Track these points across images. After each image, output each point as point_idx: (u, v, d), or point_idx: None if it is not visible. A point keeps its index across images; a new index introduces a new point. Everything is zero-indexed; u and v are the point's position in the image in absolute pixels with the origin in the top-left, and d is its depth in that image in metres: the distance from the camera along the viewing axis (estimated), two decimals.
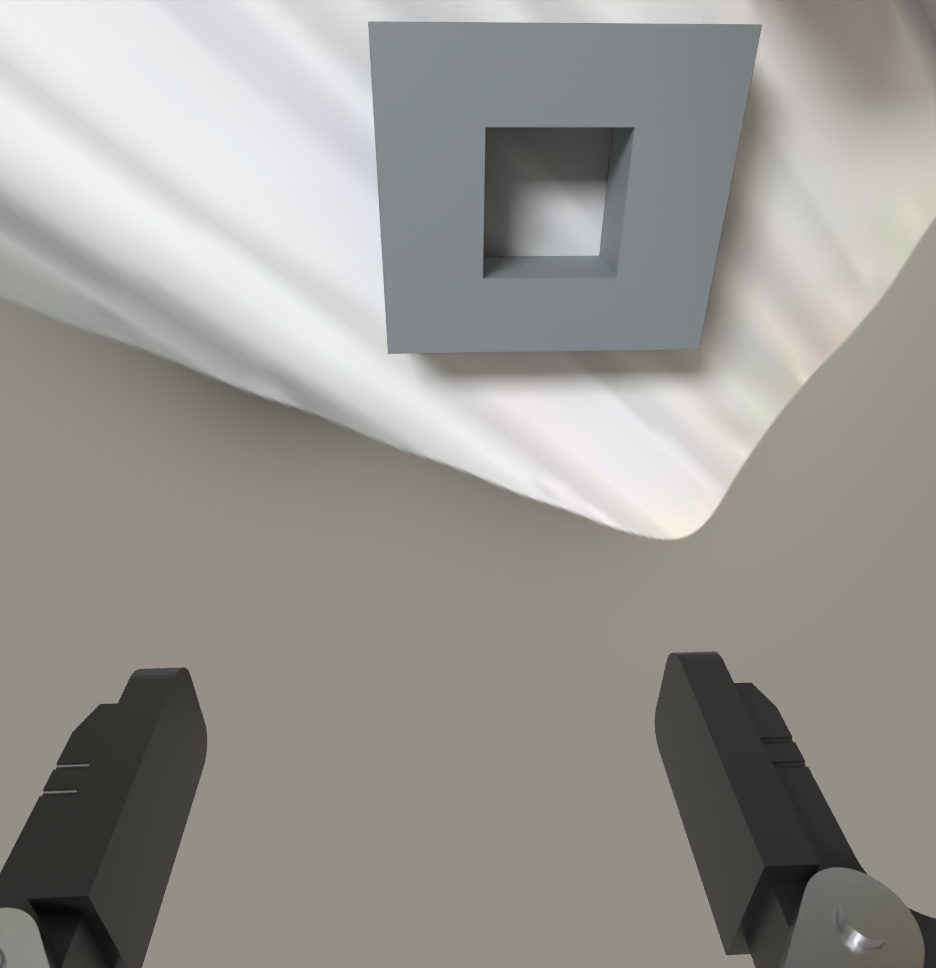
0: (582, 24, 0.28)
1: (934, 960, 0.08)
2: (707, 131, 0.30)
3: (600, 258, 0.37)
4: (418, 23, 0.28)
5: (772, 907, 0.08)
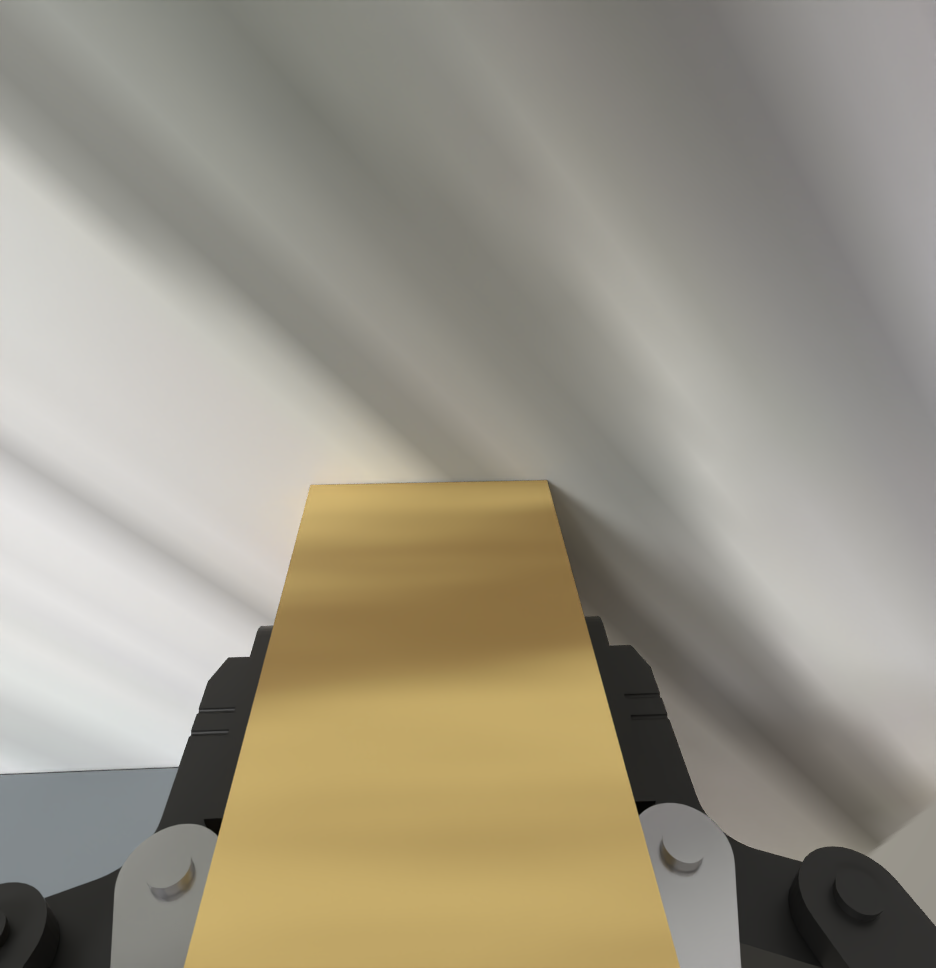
0: None
1: (750, 885, 0.08)
2: None
3: None
4: None
5: None
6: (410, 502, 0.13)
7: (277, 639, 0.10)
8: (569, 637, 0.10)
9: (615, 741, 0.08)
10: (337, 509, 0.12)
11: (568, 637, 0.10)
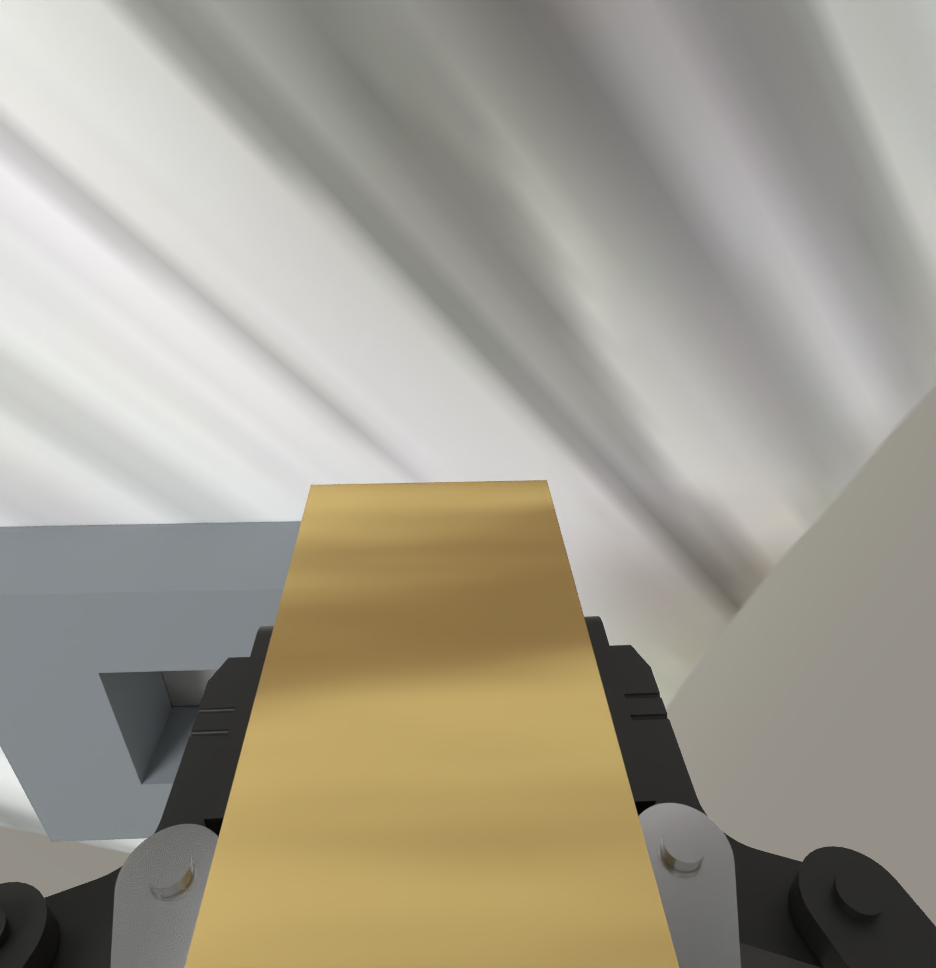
0: (185, 591, 0.23)
1: (750, 885, 0.08)
2: None
3: None
4: None
5: None
6: (410, 502, 0.13)
7: (278, 638, 0.10)
8: (568, 636, 0.10)
9: (614, 740, 0.08)
10: (337, 510, 0.12)
11: (568, 636, 0.10)
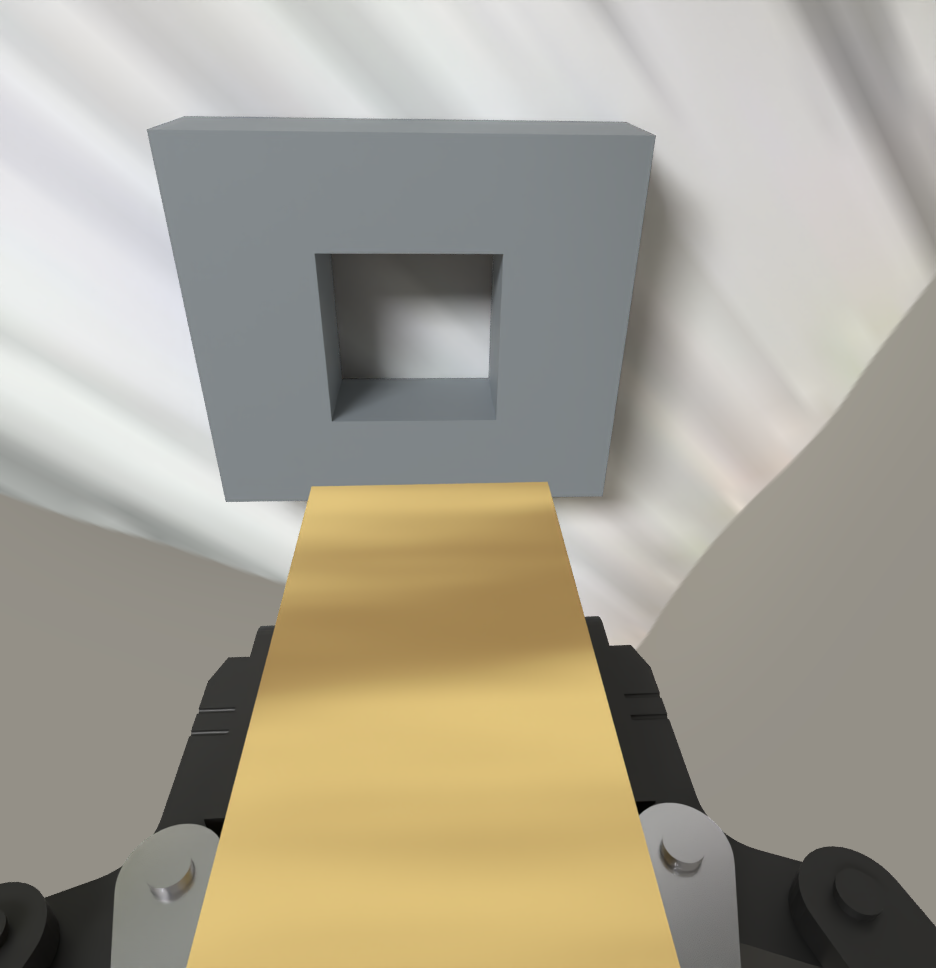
0: (425, 134, 0.22)
1: (749, 885, 0.08)
2: (595, 259, 0.24)
3: (489, 382, 0.31)
4: (212, 132, 0.22)
5: None
6: (411, 504, 0.13)
7: (278, 641, 0.10)
8: (570, 639, 0.10)
9: (616, 743, 0.08)
10: (338, 511, 0.12)
11: (568, 638, 0.10)
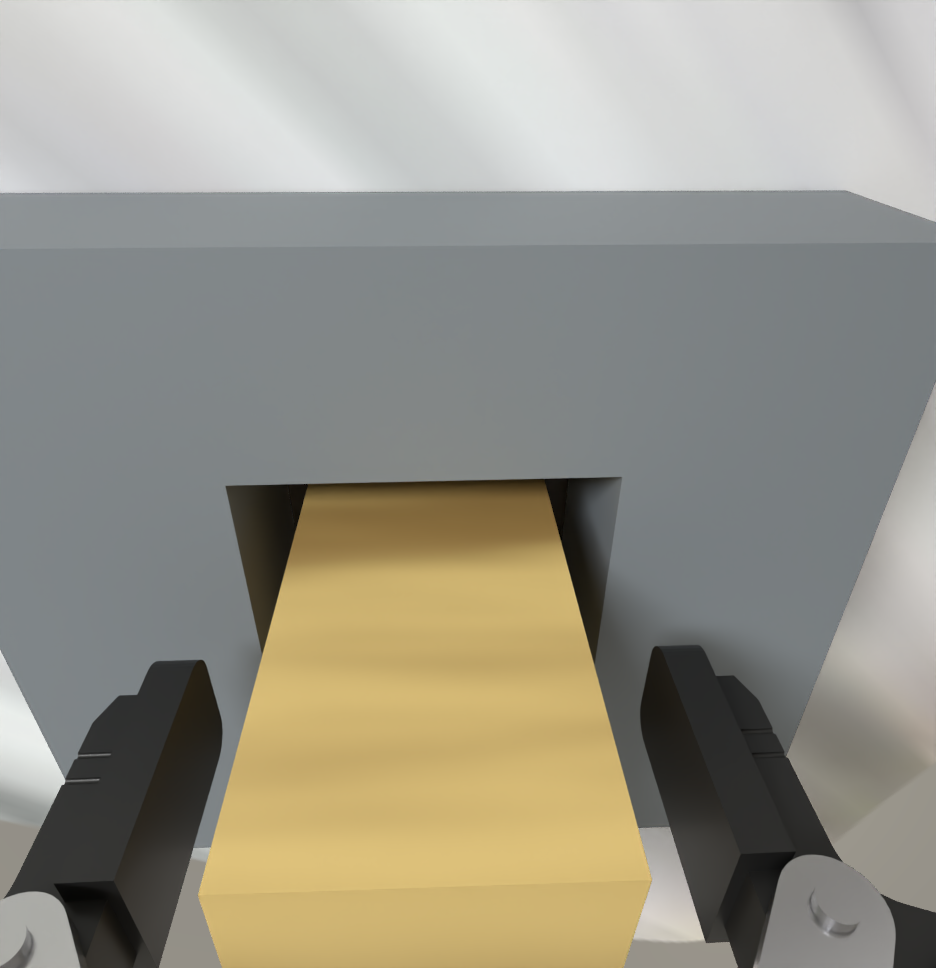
0: (464, 248, 0.09)
1: (906, 945, 0.08)
2: (811, 481, 0.12)
3: None
4: None
5: (749, 894, 0.09)
6: None
7: (302, 530, 0.12)
8: (542, 534, 0.12)
9: (575, 602, 0.10)
10: None
11: (541, 534, 0.12)
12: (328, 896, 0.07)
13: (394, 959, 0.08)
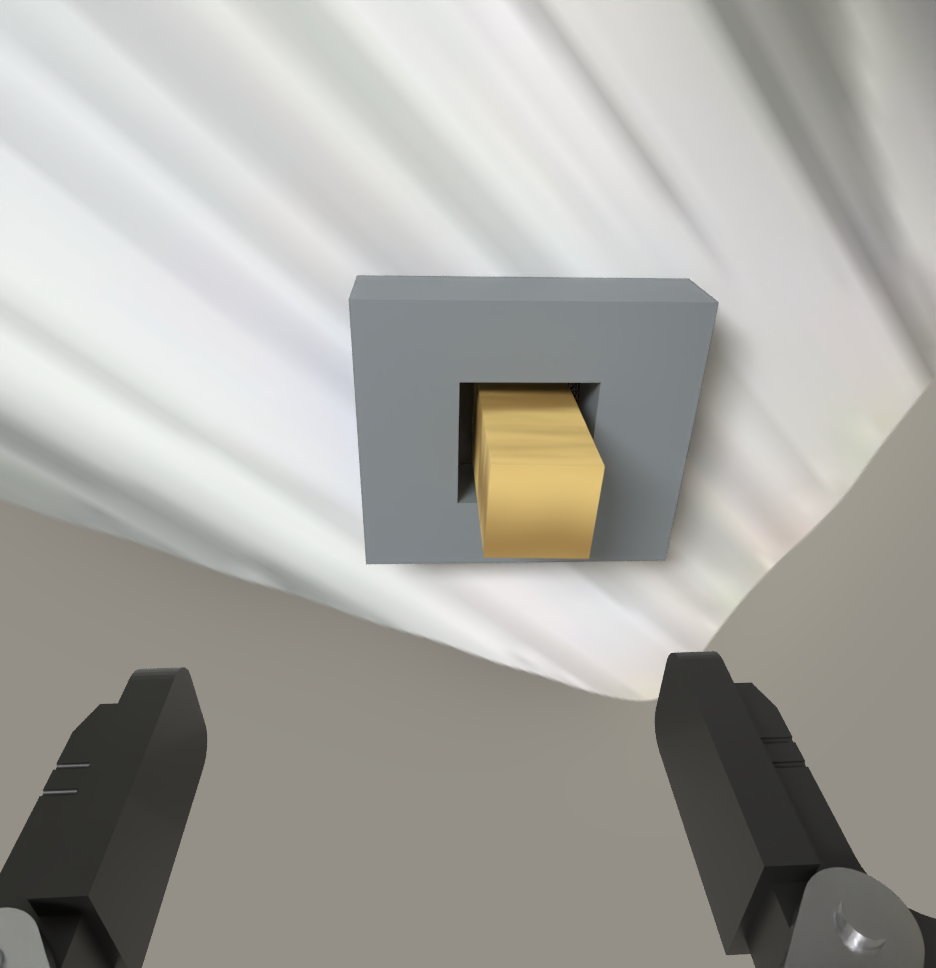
0: (550, 301, 0.30)
1: (934, 960, 0.08)
2: (669, 386, 0.32)
3: None
4: (396, 300, 0.29)
5: (772, 907, 0.08)
6: None
7: (483, 401, 0.32)
8: (571, 405, 0.32)
9: (583, 420, 0.31)
10: None
11: (570, 404, 0.32)
12: (522, 467, 0.27)
13: (535, 497, 0.28)
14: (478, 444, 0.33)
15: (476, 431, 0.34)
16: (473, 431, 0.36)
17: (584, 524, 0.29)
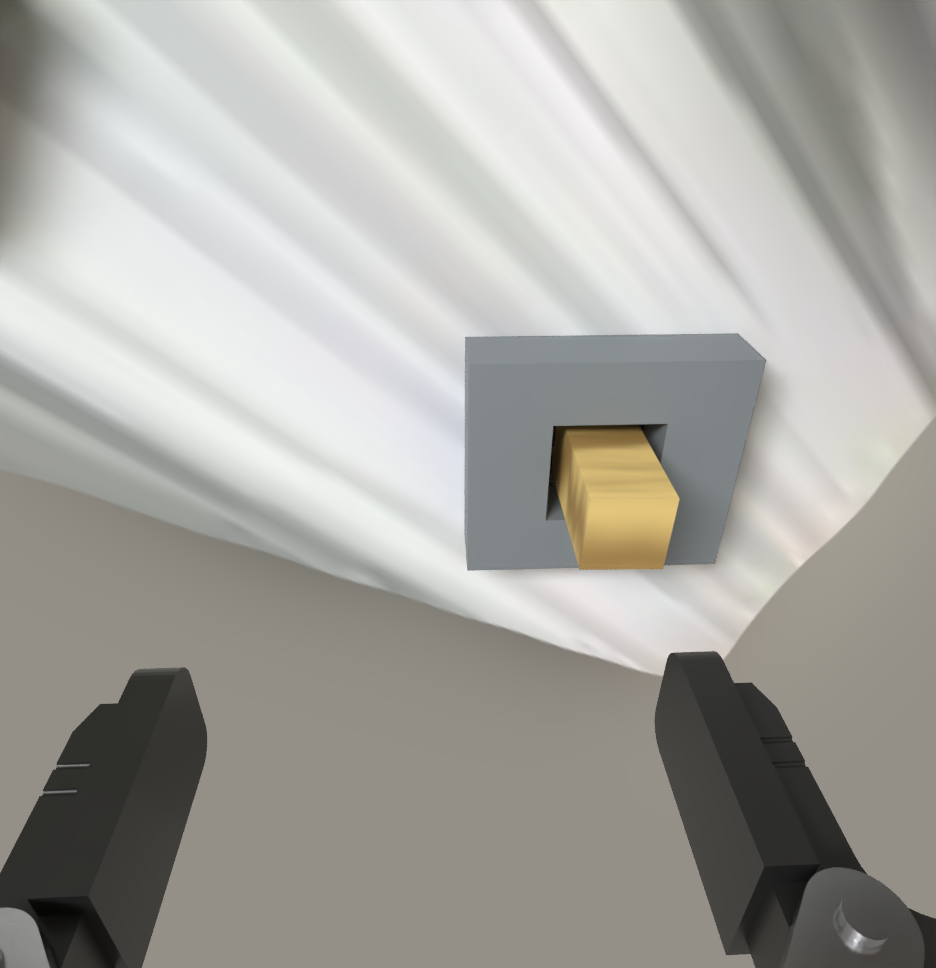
0: (630, 362, 0.37)
1: (934, 960, 0.08)
2: (724, 425, 0.39)
3: None
4: (506, 364, 0.37)
5: (772, 907, 0.08)
6: None
7: (571, 440, 0.39)
8: (643, 441, 0.39)
9: (656, 457, 0.38)
10: None
11: (642, 441, 0.39)
12: (614, 500, 0.34)
13: (623, 522, 0.35)
14: (566, 474, 0.40)
15: (561, 461, 0.42)
16: (555, 459, 0.43)
17: (661, 543, 0.36)
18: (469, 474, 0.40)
